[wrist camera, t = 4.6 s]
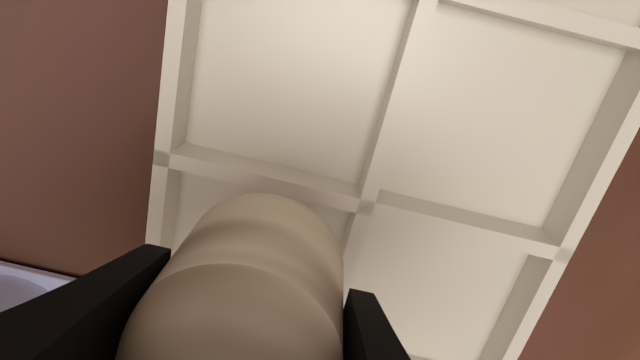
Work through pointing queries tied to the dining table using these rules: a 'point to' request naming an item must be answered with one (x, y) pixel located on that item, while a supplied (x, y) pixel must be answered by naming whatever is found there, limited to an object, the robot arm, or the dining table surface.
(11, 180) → the dining table surface
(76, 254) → the dining table surface
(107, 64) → the dining table surface
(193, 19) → the white compartment tray
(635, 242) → the dining table surface
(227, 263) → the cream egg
